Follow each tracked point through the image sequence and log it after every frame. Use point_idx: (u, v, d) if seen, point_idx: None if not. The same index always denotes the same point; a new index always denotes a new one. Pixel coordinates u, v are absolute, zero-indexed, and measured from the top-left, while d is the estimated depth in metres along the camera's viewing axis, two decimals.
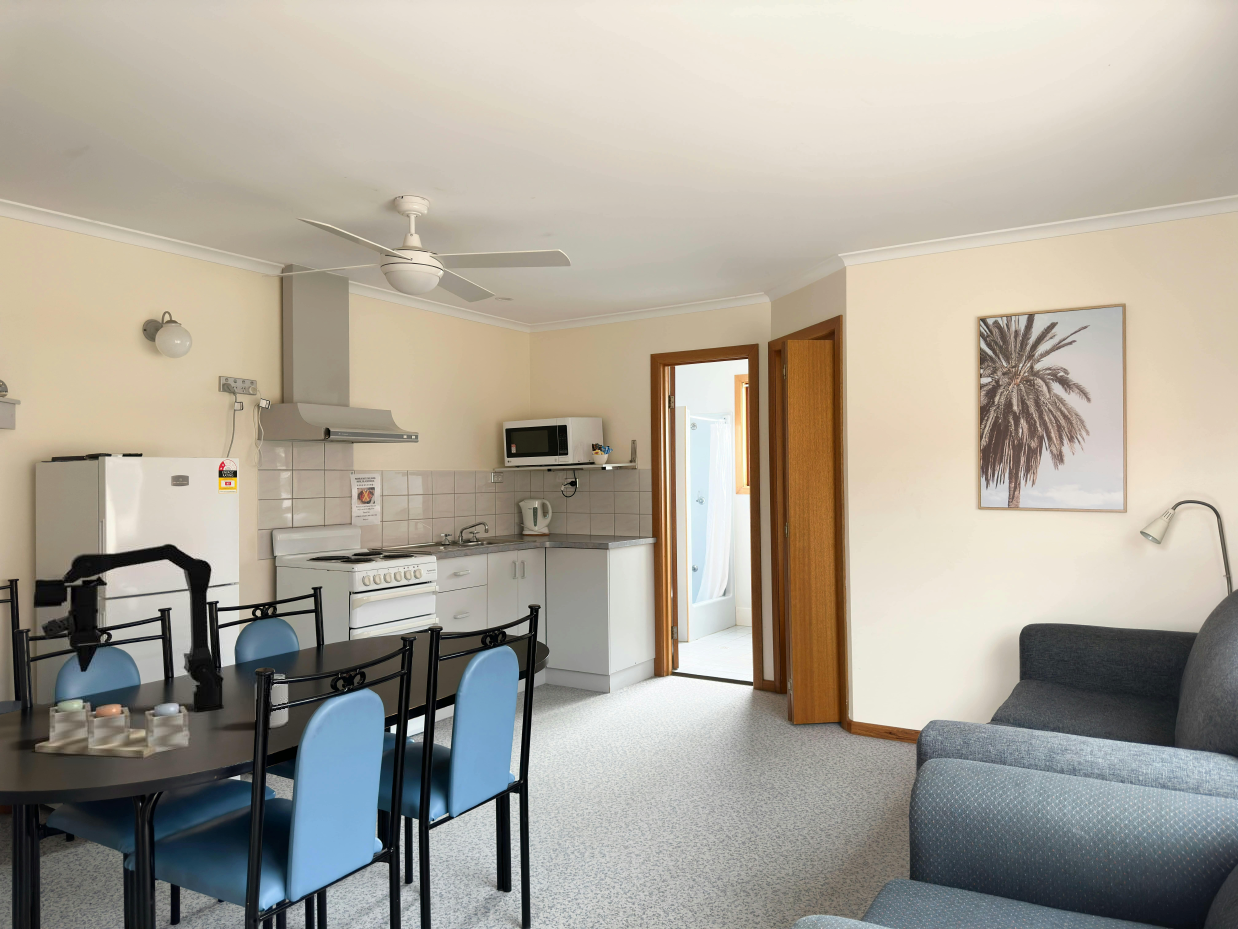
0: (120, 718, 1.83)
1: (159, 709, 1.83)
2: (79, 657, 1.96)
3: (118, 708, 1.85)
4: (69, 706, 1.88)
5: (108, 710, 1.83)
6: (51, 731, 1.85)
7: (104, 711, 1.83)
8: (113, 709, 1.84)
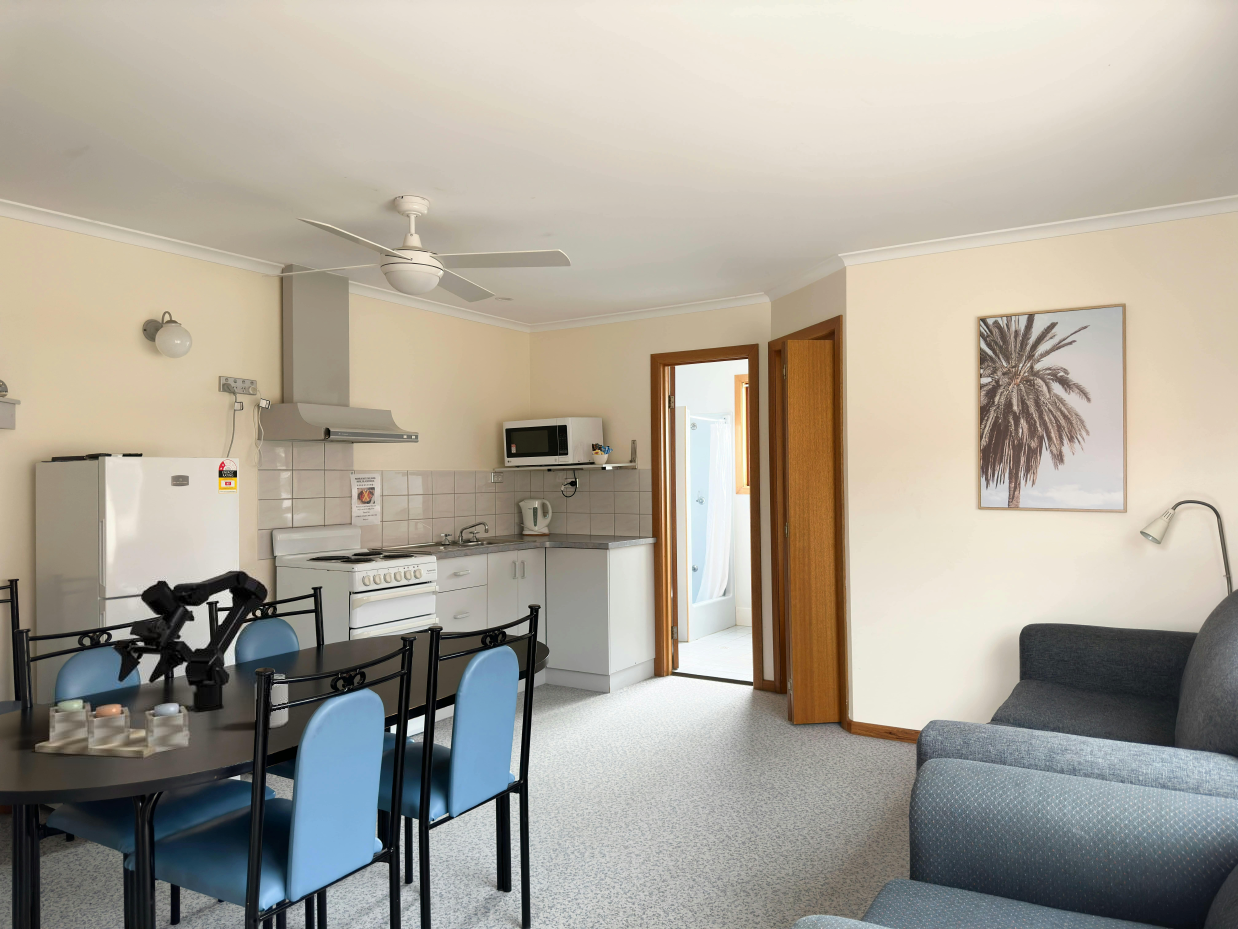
0: (120, 718, 1.83)
1: (159, 709, 1.83)
2: (161, 666, 1.94)
3: (118, 708, 1.85)
4: (69, 706, 1.88)
5: (108, 710, 1.83)
6: (51, 731, 1.85)
7: (104, 711, 1.83)
8: (113, 709, 1.84)
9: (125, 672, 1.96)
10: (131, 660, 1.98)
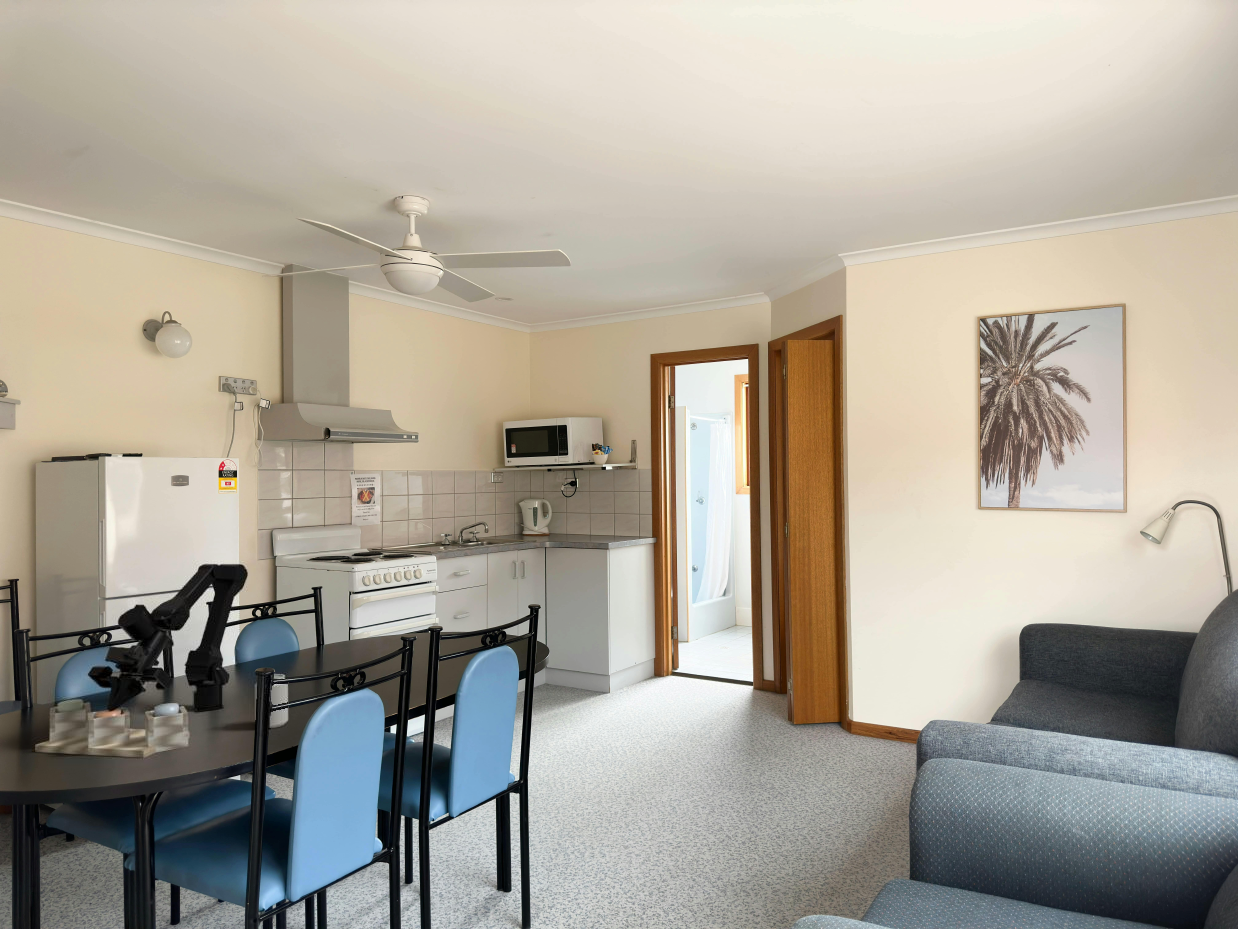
0: (120, 718, 1.83)
1: (159, 709, 1.83)
2: (122, 693, 1.87)
3: (118, 713, 1.85)
4: (69, 706, 1.88)
5: (108, 715, 1.83)
6: (51, 731, 1.85)
7: (104, 716, 1.83)
8: (113, 714, 1.84)
9: None
10: None
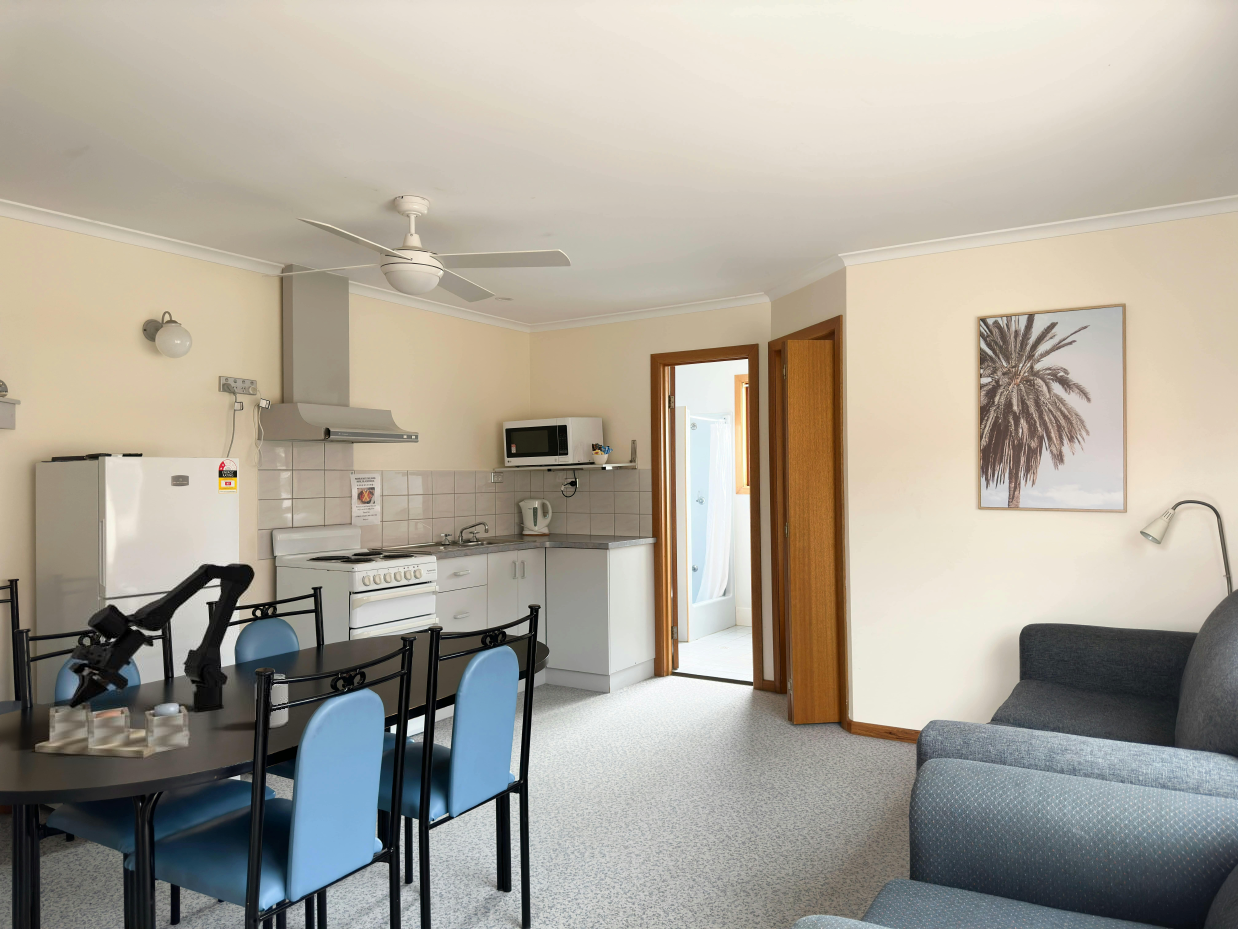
0: (120, 718, 1.83)
1: (159, 709, 1.83)
2: (82, 691, 1.91)
3: None
4: None
5: None
6: (51, 731, 1.85)
7: None
8: None
9: None
10: None
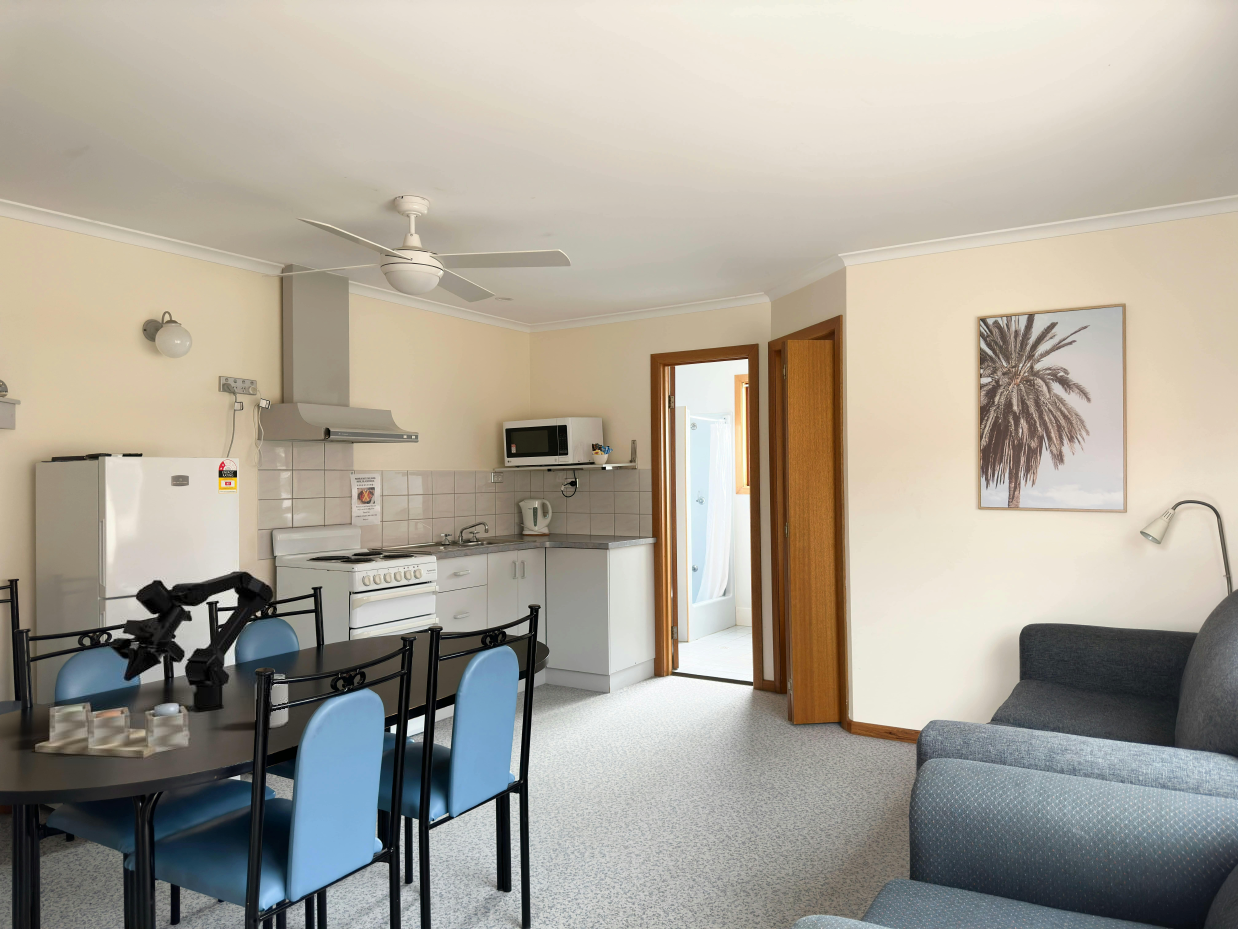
0: (120, 718, 1.83)
1: (159, 709, 1.83)
2: (138, 664, 1.95)
3: None
4: None
5: None
6: (51, 731, 1.85)
7: None
8: None
9: None
10: None
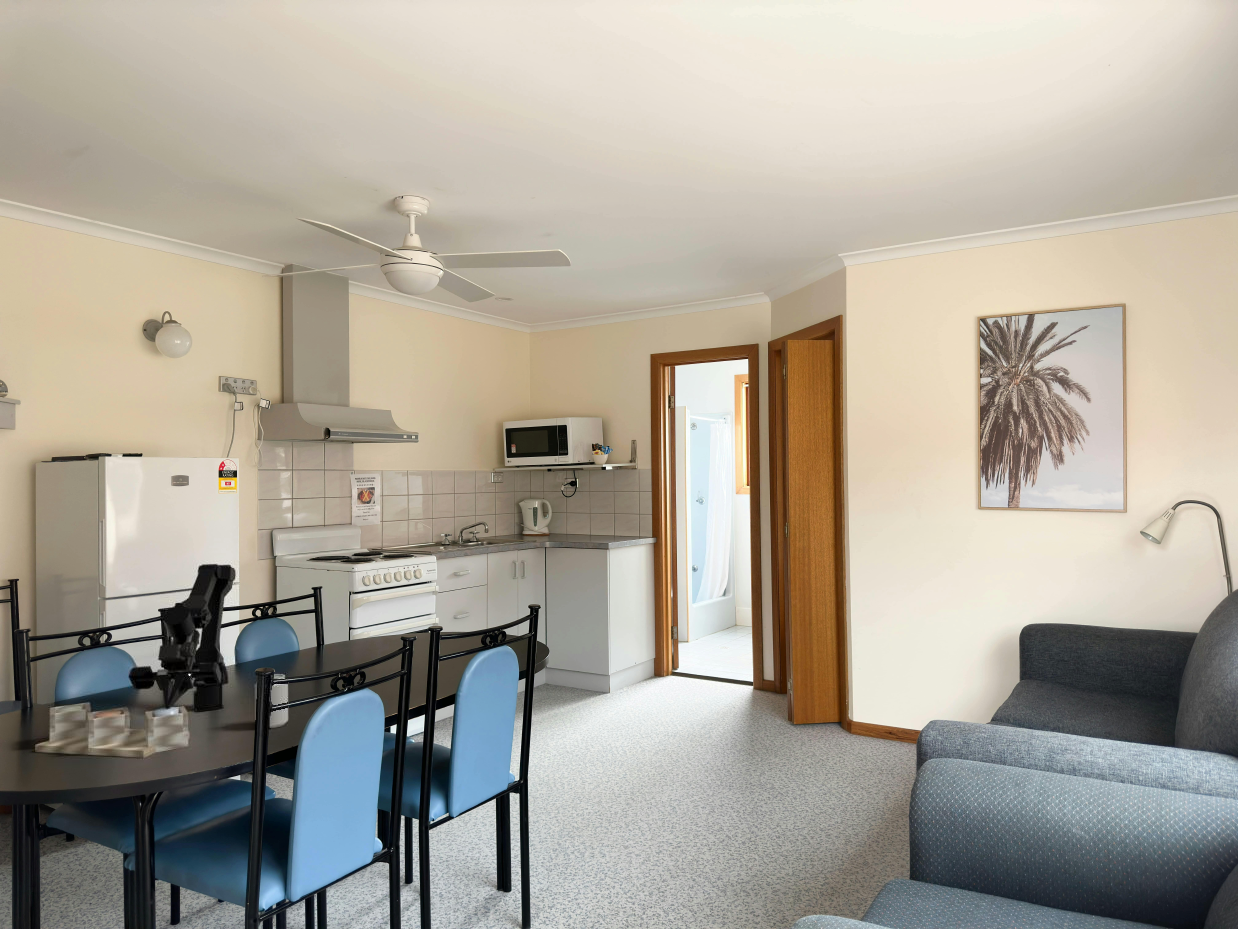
0: (120, 718, 1.83)
1: (159, 713, 1.83)
2: (177, 690, 1.88)
3: None
4: None
5: None
6: (51, 731, 1.85)
7: None
8: None
9: None
10: (170, 686, 1.90)
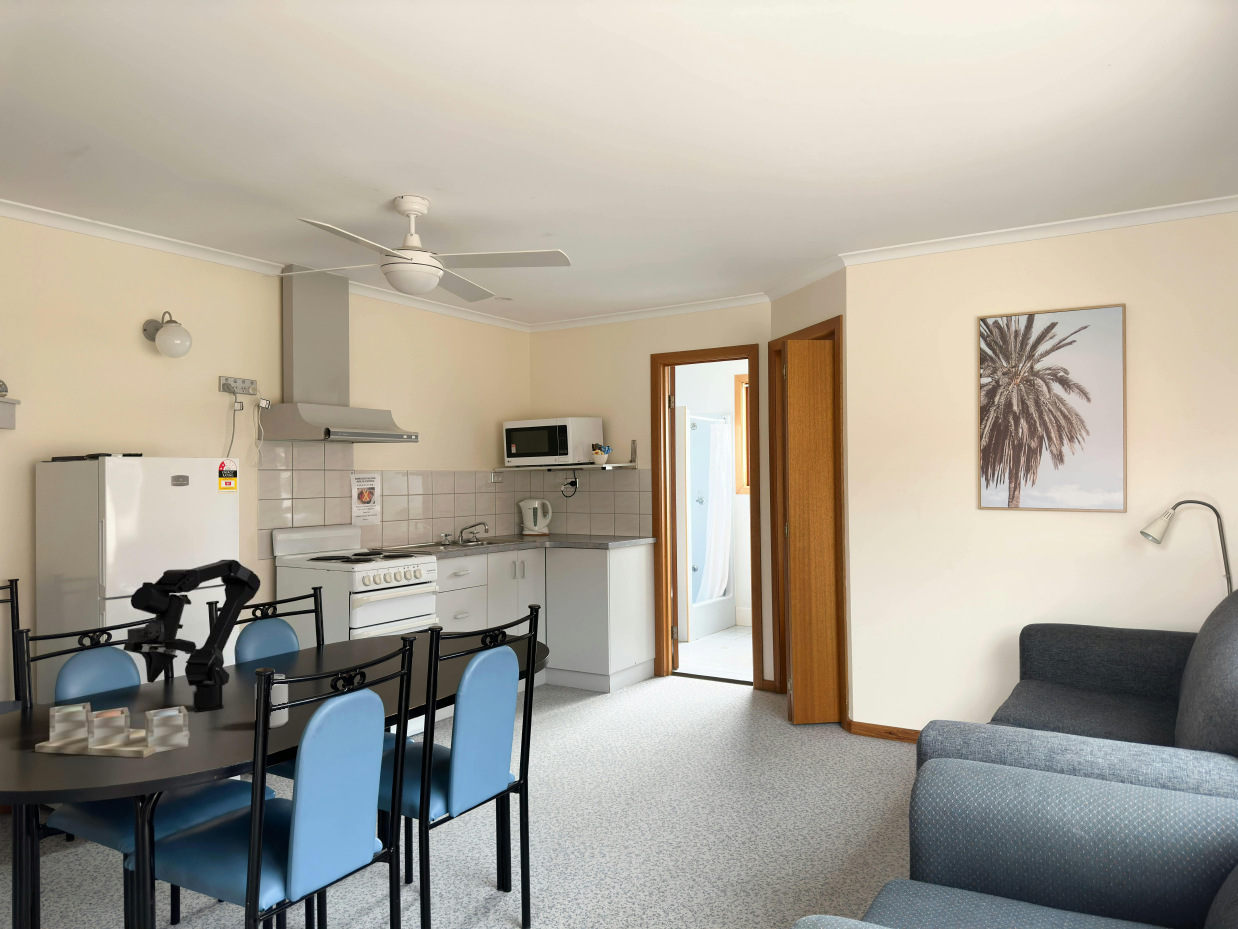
0: (120, 718, 1.83)
1: (159, 716, 1.83)
2: (155, 666, 1.98)
3: None
4: None
5: None
6: (51, 731, 1.85)
7: None
8: None
9: None
10: None
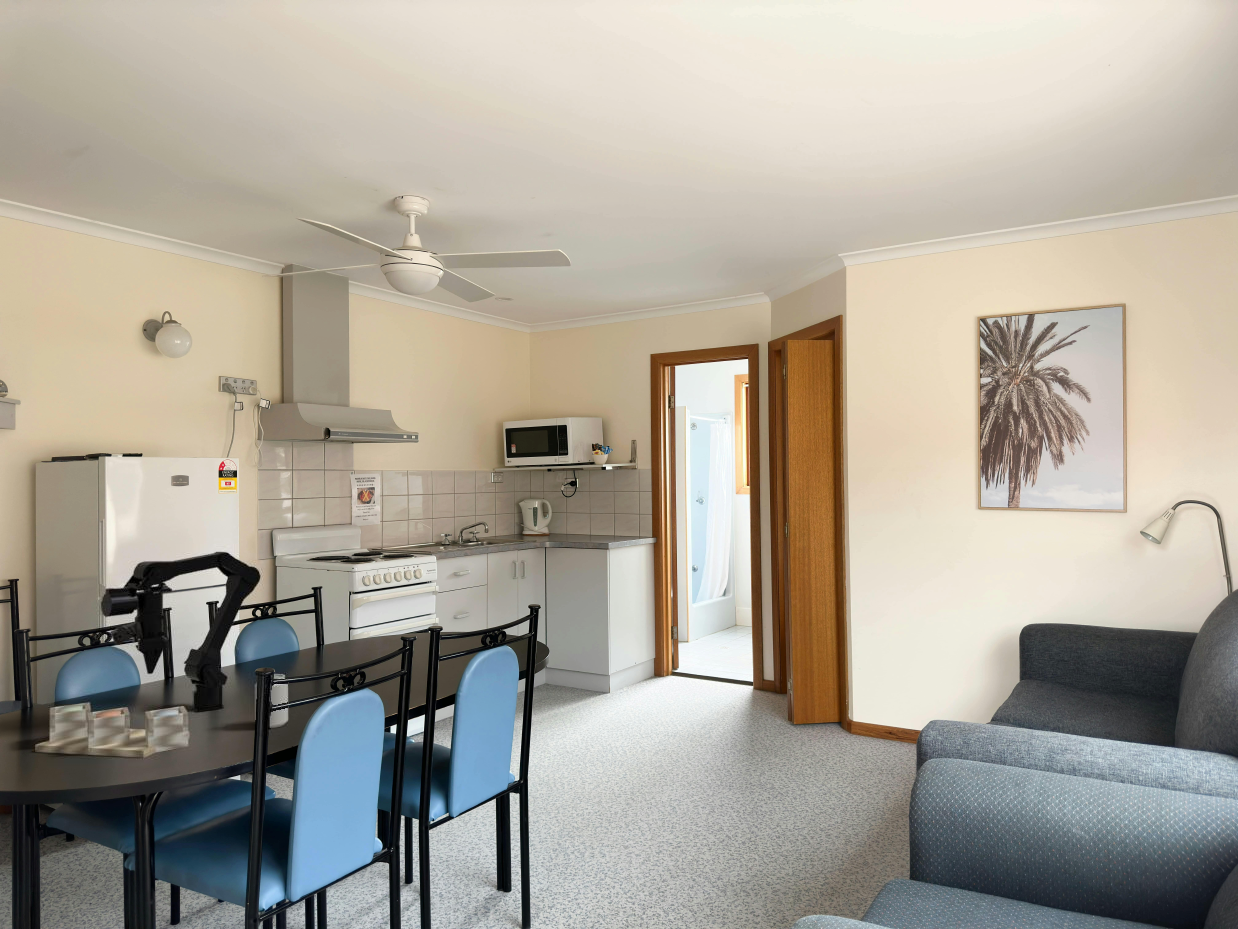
0: (120, 718, 1.83)
1: (159, 716, 1.83)
2: (146, 660, 2.04)
3: None
4: None
5: None
6: (51, 731, 1.85)
7: None
8: None
9: None
10: None
